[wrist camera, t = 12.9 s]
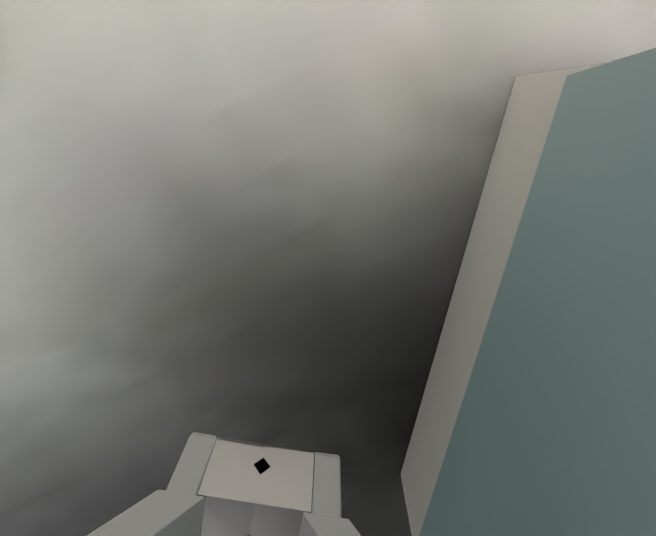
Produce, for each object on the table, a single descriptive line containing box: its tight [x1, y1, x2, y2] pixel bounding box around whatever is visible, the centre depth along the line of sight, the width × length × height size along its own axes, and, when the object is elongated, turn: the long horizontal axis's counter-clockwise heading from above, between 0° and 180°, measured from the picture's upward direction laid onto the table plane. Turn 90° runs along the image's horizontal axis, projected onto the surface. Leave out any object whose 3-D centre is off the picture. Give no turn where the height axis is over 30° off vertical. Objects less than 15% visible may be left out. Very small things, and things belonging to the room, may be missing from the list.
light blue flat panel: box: [419, 48, 656, 536], centre depth 11 cm, size 18×10×1 cm
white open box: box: [400, 63, 606, 536], centre depth 19 cm, size 19×10×7 cm, turn 169°
